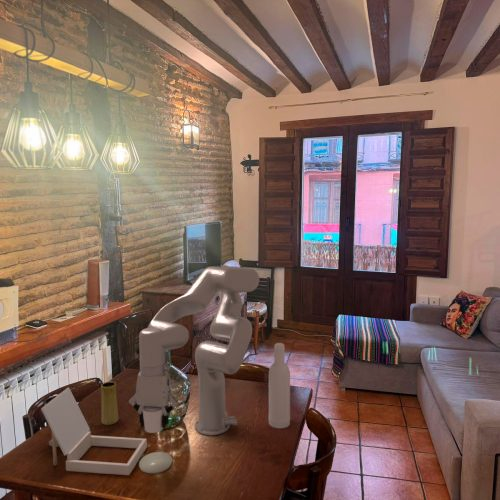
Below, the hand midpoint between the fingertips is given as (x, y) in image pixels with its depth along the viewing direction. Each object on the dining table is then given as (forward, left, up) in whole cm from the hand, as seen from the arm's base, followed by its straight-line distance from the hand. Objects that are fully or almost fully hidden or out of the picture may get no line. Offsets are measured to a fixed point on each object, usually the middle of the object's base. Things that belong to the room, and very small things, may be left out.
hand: (154, 424), depth 134 cm
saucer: (0, 0, -13) cm, 13 cm away
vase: (+26, -24, -13) cm, 38 cm away
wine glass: (+37, -9, -13) cm, 40 cm away
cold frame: (+19, -1, -13) cm, 23 cm away
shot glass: (0, 0, -1) cm, 1 cm away
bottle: (-37, -29, -13) cm, 49 cm away
